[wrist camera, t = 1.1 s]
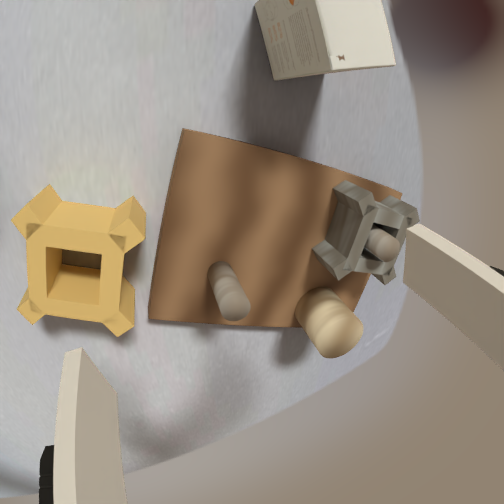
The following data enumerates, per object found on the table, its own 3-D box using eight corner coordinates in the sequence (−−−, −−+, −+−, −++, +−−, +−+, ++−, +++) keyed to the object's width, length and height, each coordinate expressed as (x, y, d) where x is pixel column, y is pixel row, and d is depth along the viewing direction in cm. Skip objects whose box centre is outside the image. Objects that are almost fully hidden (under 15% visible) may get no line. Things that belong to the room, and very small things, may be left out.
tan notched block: (35, 287, 27) (18, 322, 22) (36, 182, 23) (11, 201, 18) (133, 300, 31) (133, 338, 26) (148, 198, 27) (148, 220, 22)
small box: (325, 73, 27) (398, 68, 18) (271, 81, 26) (332, 73, 17) (307, -1, 23) (374, -33, 14) (252, 3, 22) (303, -40, 13)
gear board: (148, 307, 32) (151, 360, 25) (182, 128, 25) (194, 135, 19) (338, 318, 41) (370, 357, 34) (391, 188, 34) (439, 211, 28)
